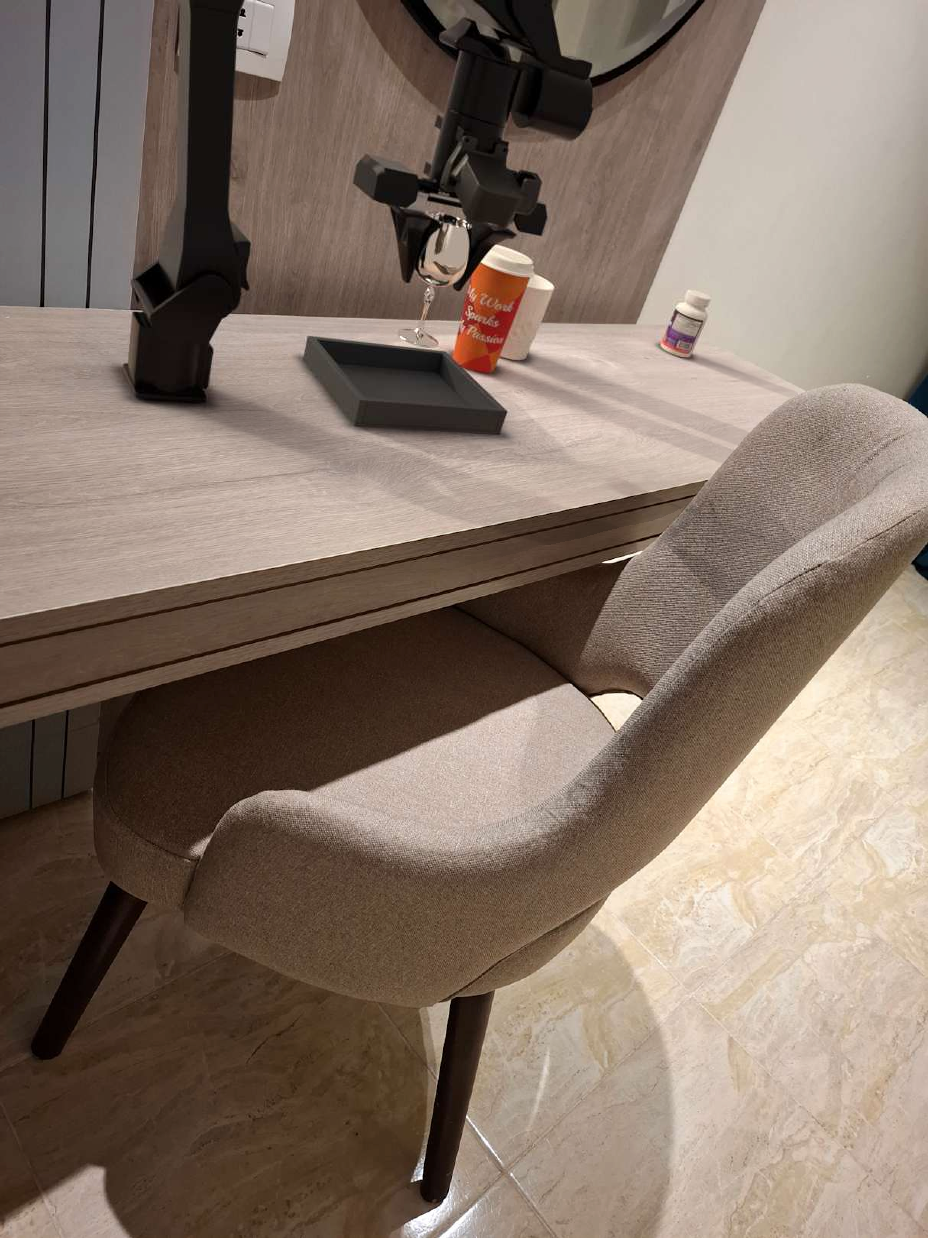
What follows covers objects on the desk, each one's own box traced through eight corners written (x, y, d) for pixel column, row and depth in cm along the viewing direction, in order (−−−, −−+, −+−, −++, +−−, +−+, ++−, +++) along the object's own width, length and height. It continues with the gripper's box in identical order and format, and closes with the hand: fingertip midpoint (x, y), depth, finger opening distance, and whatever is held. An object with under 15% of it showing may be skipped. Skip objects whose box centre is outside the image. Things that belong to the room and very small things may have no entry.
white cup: (526, 367, 121) (551, 294, 115) (470, 347, 121) (493, 273, 115) (533, 352, 127) (557, 281, 122) (480, 333, 128) (502, 262, 122)
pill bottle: (667, 343, 154) (691, 286, 149) (694, 356, 152) (719, 299, 147) (654, 346, 150) (678, 288, 145) (682, 359, 148) (708, 301, 143)
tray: (354, 425, 90) (360, 399, 89) (302, 359, 100) (307, 335, 99) (500, 434, 99) (508, 411, 98) (439, 372, 110) (445, 350, 108)
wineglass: (424, 353, 91) (457, 230, 84) (379, 330, 92) (408, 208, 86) (454, 346, 95) (488, 229, 88) (411, 324, 97) (441, 208, 90)
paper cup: (435, 357, 114) (467, 244, 106) (457, 346, 120) (489, 238, 112) (491, 382, 112) (527, 269, 105) (510, 368, 119) (546, 261, 111)
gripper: (422, 112, 72) (377, 304, 81) (603, 162, 82) (545, 328, 90) (370, 82, 79) (334, 260, 88) (542, 130, 89) (494, 287, 98)
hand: (431, 285), depth 91 cm, fingers closed on wineglass, 5 cm apart
